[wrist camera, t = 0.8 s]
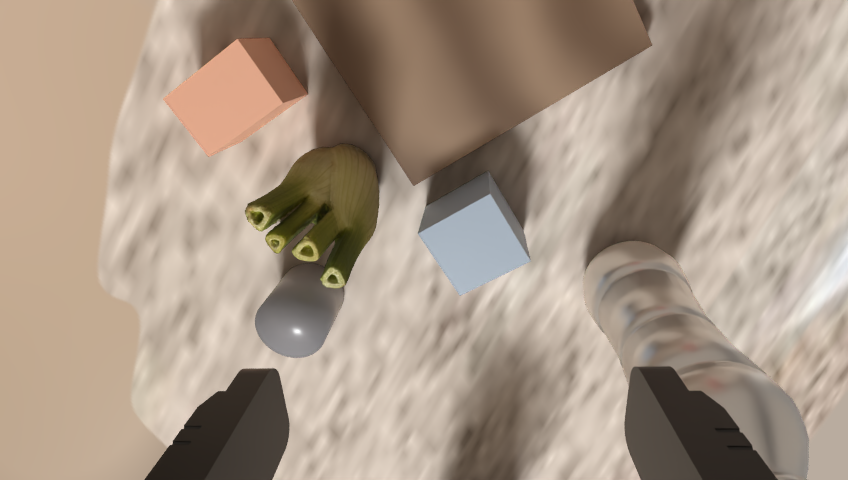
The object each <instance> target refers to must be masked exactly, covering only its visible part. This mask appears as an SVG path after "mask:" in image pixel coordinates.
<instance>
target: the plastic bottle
mask: <svg viewBox="0 0 848 480" xmlns="http://www.w3.org/2000/svg"><path fill="white" fill-rule="evenodd" d="M583 291H584V300H585V305H586V307H587V310H588V312H589V314H590V315H591V317H592V318H593V320H594V321H595V323H596V324H597V325H598V327H599V328H600V329H601V330H602V332H603V333H604V334H605V335H606V336H607V338H608V340H609V342H610V343H611V345H612V347H613V349H614V350H615V352H616V354H617V355H618V357H619V360H620V362H621V365H622V368H623V371H624V374H625V377H626V379H627V382H628V385H629V382H630V374H631V370H632V368H633V367H640V366H670V367H672V368H673V369H674V370H675V371H676V372H677V374H678V375H679V377H680V378H681V380H682V381H683V383H684V384H685V386H686V387H687V389H688V390H689V391H702V392H704V393H705V394H706V395H708V396H709V397H710V398H712V399H713V400H714V401H716V402H717V403H718V404H720V405H721V406H722V407H724V408H725V410H726V411H727V412H728V414H729V415H730V416H731V418H732V419H733V420H734V422H735V423H736V424H737V426H738V427H739V428H740V432H741V433H743V434H744V435H745V436H746V438H747V439H748V440H749V442H750V443H751V444H752V447H753V450H756V451H757V452H758V454H759V455H760V456H761V458H762V459H763V461H764V462H765V463H766V465H767V466H768V467H769V469H770V470H771V471H772V473H773V474H774V475H775V477H776V478H777V479H778V480H807V479H806V478H807V472H808V460H809V459H808V458H809V451H808V450H809V438H808V434H807V430H806V427H805V425H804V422H803V419H802V417H801V414H800V412H799V409H798V408H797V406H796V404H795V403H794V401H793V399H792V398H791V397H790V396H789V395H788V394H787V393H786V392H785V391H784V390H783V389H782V388H781V387H780V386H779V385H778V384H777V383H776V382H775V381H774V380H773V379H772V378H771V377H770V376H768V375H767V374H766V373H765V372H764V371H763V370H761V369H760V368H759V367H758V366H757V365H756V364H754V363H753V362H752V361H751V360H750V359H749V358H748V357H746V356H745V355H744V354H743V353H742V352H741V351H739V350H738V349H737V348H736V347H735V346H734V345H733V344H732V343H731V342H730V341H729V340H728V339H727V338H726V337H725V336H724V334H723V333H722V332H721V331H720V330H719V329H718V328H717V327H716V326H715V325H714V324H713V323H712V321H711V320H710V319H709V318H708V317H707V316H706V314H705V313H704V311H703V309H702V308H701V306H700V304H699V303H698V301H697V300H696V298H695V296H694V295H693V293H692V290H691V287H690V284H689V281H688V279H687V277H686V276H685V274H684V272H683V270H682V268H681V267H680V265H679V264H678V262H677V261H676V260H675V259H674V258H673V257H672V256H670V255H669V254H667V253H666V252H664V251H662V250H661V249H659V248H658V247H656V246H655V245H652V244H649V243H647V242H641V241H625V242H620V243H616V244H614V245H611V246H609V247H607V248H606V249H604V250H602V251H601V252H600V253H599V254H597V255H596V256H595V257H594V258H593V260H592V261H591V262H590V263H589V265H588V267H587V269H586V271H585V275H584V278H583Z"/></svg>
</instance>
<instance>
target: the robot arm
mask: <svg viewBox="0 0 848 480" xmlns="http://www.w3.org/2000/svg"><path fill="white" fill-rule="evenodd" d="M625 436H626V442H627V446H628V450H629V452H630V455H631V457H632V460H633V462H634V464H635V467H636V469H637V471H638V474H639V476H640V478H641V480H778V479H777V478H776V477H775V475H774V474H773V473H772V471H771V470H770V469H769V467H768V466H767V465H766V463H765V462H764V461H763V459H762V458H761V456H760V455H759V454H758V452H757V451H756V450H753V447H752V444H751V443H750V442H749V440H748V439H747V438H746V436H745V435H744V434H743V433H741V432H740V428H739V427H738V426H737V424H736V423H735V422H734V420H733V419H732V418H731V416H730V415H729V414H728V412H727V411H726V410H725V408H724V407H722V406H721V405H720V404H718V403H717V402H716V401H714V400H713V399H712V398H710V397H709V396H708V395H706V394H705V393H704V392H702V391H689V390H688V389H687V387H686V386H685V384H684V383H683V381H682V380H681V378H680V377H679V375H678V374H677V372H676V371H675V370H674V369H673V368H672V367H670V366H640V367H633V368H632V370H631V374H630V382H629V390H628V398H627V406H626V415H625ZM288 437H289V418H288V413H287V409H286V404H285V399H284V394H283V390H282V385H281V380H280V376H279V373H278V371H277V370H276V369H274V368H273V369H242V370H241V371H239V373H238V374H237V375H236V377H235V378H234V380H233V381H232V383H231V384H230V386H229V387H228V389H227V390H226V391H218V392H216V393H215V394H214V395H213V396H211V397H210V398H209V399H208V400H206V401H205V402H204V403H202V404H201V405H200V406H199V407H197V409H196V410H195V412H194V413H193V414H192V416H191V417H190V418H189V420H188V421H187V422H186V424H185V425H184V429H181V431H180V432H179V433H178V435H177V436H176V437H175V439H174V440H173V444H172V445H170V446H169V447H168V448H167V450H166V451H165V452H164V454H163V455H162V457H161V458H160V459H159V461H158V462H157V463H156V465H155V466H154V467H153V469H152V470H151V472H150V473H149V474H148V476H147V477H146V478H145V480H272V479H273V477H274V474H275V472H276V470H277V467H278V465H279V463H280V461H281V458H282V456H283V454H284V451H285V449H286V446H287V442H288Z"/></svg>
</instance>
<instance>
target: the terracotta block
mask: <svg viewBox="0 0 848 480" xmlns="http://www.w3.org/2000/svg"><path fill="white" fill-rule="evenodd" d="M307 94H308V93H307V92H306V90H305V89H304V87H303V86H302V85H301V83H300V82H299V80H298V79H297V77H296V76H295V74H294V73H293V71H292V70H291V69H290V67H289V66H288V64H287V63H286V61H285V60H284V58H283V57H282V55H281V54H280V53H279V51H278V50H277V48H276V47H275V45H274V44H273V42H272V41H271V39H270V38H247V39H236V40H235V41H234V42H233V43H231V44H230V45H229V46H228V47H226V48H225V49H224V50H223V51H222V52H220V53H219V54H218V55H217V56H215V57H214V58H213V59H212V60H210V61H209V62H208V63H207V64H205V65H204V66H203V67H202V68H200V69H199V70H198V71H197V72H196V73H194V74H193V75H192V76H191V77H189V78H188V79H187V80H186V81H184V82H183V83H182V84H181V85H179V86H178V87H177V88H176V89H174V90H173V91H172V92H171V93H170V94H168V95H167V96H166V97H165V98H163V100H164V101H165V102H166V103H167V105H168V106H169V107H170V109H171V110H172V111H173V112H174V114H175V115H176V116H177V117H178V119H179V120H180V121H181V122H182V124H183V125H184V126H185V128H186V129H187V130H188V131H189V133H190V134H191V135H192V136H193V138H194V139H195V140H196V141H197V143H198V144H199V145H200V147H201V148H202V149H203V150H204V152H205V153H206V154H207V155H208V157H210V156H212V155H214V154H216V153H218V152H220V151H223V150H225V149H227V148H229V147H231V146H233V145H235V144H238V143H240V142H242V141H243V140H245V139H246V138H247V137H249V136H250V135H252V134H253V133H254V132H256V131H257V130H259V129H260V128H261V127H263V126H264V125H266V124H267V123H268V122H270V121H271V120H273V119H274V118H275V117H277V116H278V115H280V114H281V113H282V112H284V111H285V110H287V109H288V108H289V107H291V106H292V105H293V104H295V103H296V102H298V101H299V100H300V99H302V98H303V97H305V96H306V95H307Z"/></svg>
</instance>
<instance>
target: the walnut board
mask: <svg viewBox="0 0 848 480" xmlns="http://www.w3.org/2000/svg"><path fill="white" fill-rule="evenodd" d="M292 1H293V3H294V4H295V6H296V7H297V9H298V10H299V12H300V13H301V15H302V16H303V18H304V19H305V21H306V22H307V24H308V25H309V27H310V29H311V30H312V32H313V33H314V35H315V36H316V38H317V39H318V41H319V42H320V44H321V45H322V47H323V48H324V50H325V51H326V53H327V54H328V56H329V58H330V59H331V61H332V62H333V64H334V65H335V67H336V68H337V70H338V71H339V73H340V74H341V76H342V77H343V79H344V80H345V82H346V83H347V85H348V87H349V88H350V90H351V91H352V93H353V94H354V96H355V97H356V99H357V100H358V102H359V103H360V105H361V106H362V108H363V109H364V111H365V112H366V114H367V116H368V117H369V119H370V120H371V122H372V123H373V125H374V126H375V128H376V129H377V131H378V132H379V134H380V135H381V137H382V138H383V140H384V141H385V143H386V144H387V146H388V148H389V149H390V151H391V152H392V154H393V155H394V157H395V158H396V160H397V161H398V163H399V164H400V166H401V167H402V169H403V170H404V172H405V173H406V175H407V177H408V178H409V180H410V181H411V183H412V184H413V186H415V185H416V184H418V183H420V182H421V181H423V180H425V179H426V178H428V177H430V176H432V175H433V174H435V173H437V172H438V171H440V170H442V169H443V168H445V167H447V166H448V165H450V164H452V163H454V162H455V161H457V160H459V159H460V158H462V157H464V156H465V155H467V154H469V153H471V152H472V151H474V150H476V149H477V148H479V147H481V146H482V145H484V144H486V143H487V142H489V141H491V140H493V139H494V138H496V137H498V136H499V135H501V134H503V133H504V132H506V131H508V130H510V129H511V128H513V127H515V126H516V125H518V124H520V123H521V122H523V121H525V120H527V119H528V118H530V117H532V116H533V115H535V114H537V113H538V112H540V111H542V110H543V109H545V108H547V107H549V106H550V105H552V104H554V103H555V102H557V101H559V100H560V99H562V98H564V97H566V96H567V95H569V94H571V93H572V92H574V91H576V90H577V89H579V88H581V87H583V86H584V85H586V84H588V83H589V82H591V81H593V80H594V79H596V78H598V77H599V76H601V75H603V74H605V73H606V72H608V71H610V70H611V69H613V68H615V67H616V66H618V65H620V64H622V63H623V62H625V61H627V60H628V59H630V58H632V57H633V56H635V55H637V54H638V53H640V52H642V51H644V50H645V49H647V48H649V47H650V46H652V43H651V41H650V39H649V36H648V34H647V32H646V29H645V27H644V25H643V22H642V20H641V18H640V15H639V13H638V11H637V8H636V6H635V4H634V1H633V0H292Z"/></svg>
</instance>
